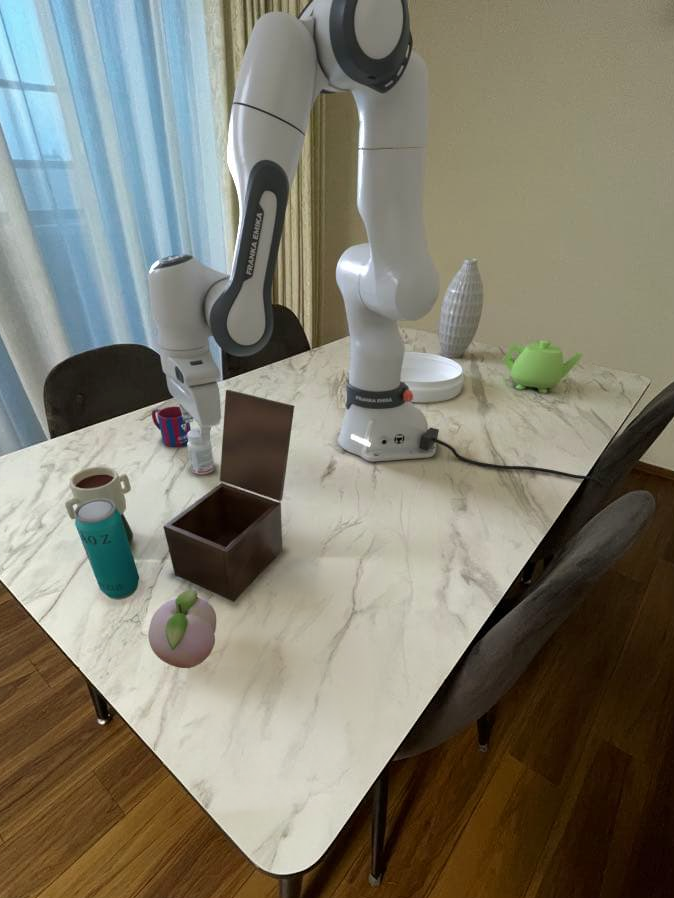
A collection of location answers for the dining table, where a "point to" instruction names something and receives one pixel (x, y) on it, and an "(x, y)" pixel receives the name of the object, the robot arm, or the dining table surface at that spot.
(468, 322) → the vase
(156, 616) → the decorative fruit
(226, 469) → the lid
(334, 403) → the dining table surface
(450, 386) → the white round dish
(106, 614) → the dining table surface
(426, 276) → the robot arm
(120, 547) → the beverage can
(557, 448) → the dining table surface
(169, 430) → the cup
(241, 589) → the box
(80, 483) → the character mug
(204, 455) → the pill bottle
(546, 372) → the teapot
